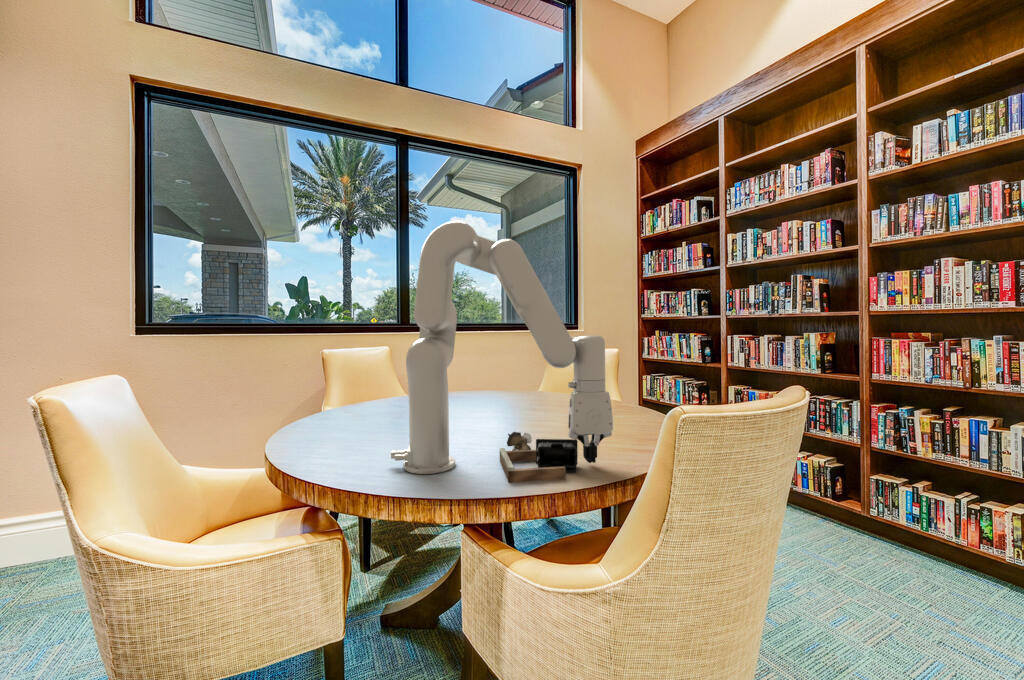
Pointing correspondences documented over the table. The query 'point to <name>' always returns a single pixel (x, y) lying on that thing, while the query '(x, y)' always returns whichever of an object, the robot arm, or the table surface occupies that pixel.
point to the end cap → (557, 453)
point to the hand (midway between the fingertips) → (590, 460)
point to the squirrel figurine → (519, 441)
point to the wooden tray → (527, 473)
